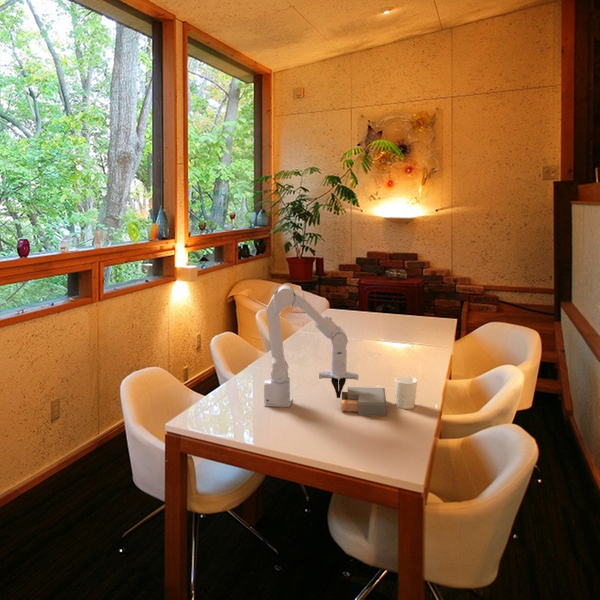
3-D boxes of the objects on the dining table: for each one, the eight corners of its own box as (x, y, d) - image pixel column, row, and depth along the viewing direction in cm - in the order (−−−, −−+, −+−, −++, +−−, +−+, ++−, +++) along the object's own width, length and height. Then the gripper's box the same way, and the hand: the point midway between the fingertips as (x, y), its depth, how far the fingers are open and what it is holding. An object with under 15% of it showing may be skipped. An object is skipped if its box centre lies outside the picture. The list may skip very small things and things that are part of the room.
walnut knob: (341, 403, 192) (341, 393, 191) (342, 399, 196) (342, 390, 195) (371, 404, 191) (371, 394, 190) (371, 400, 194) (371, 391, 194)
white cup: (400, 411, 185) (401, 384, 183) (390, 402, 193) (391, 377, 191) (420, 408, 187) (421, 382, 185) (409, 400, 195) (410, 375, 193)
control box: (346, 414, 183) (346, 401, 182) (348, 399, 197) (348, 386, 196) (385, 416, 181) (386, 402, 180) (384, 400, 195) (384, 388, 194)
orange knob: (341, 412, 184) (341, 402, 183) (341, 408, 188) (341, 398, 187) (372, 413, 183) (372, 403, 182) (372, 409, 186) (372, 399, 186)
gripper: (318, 364, 188) (318, 400, 191) (358, 366, 186) (358, 401, 189) (319, 359, 195) (319, 393, 197) (358, 360, 193) (358, 394, 196)
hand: (338, 397), depth 194 cm, fingers closed
